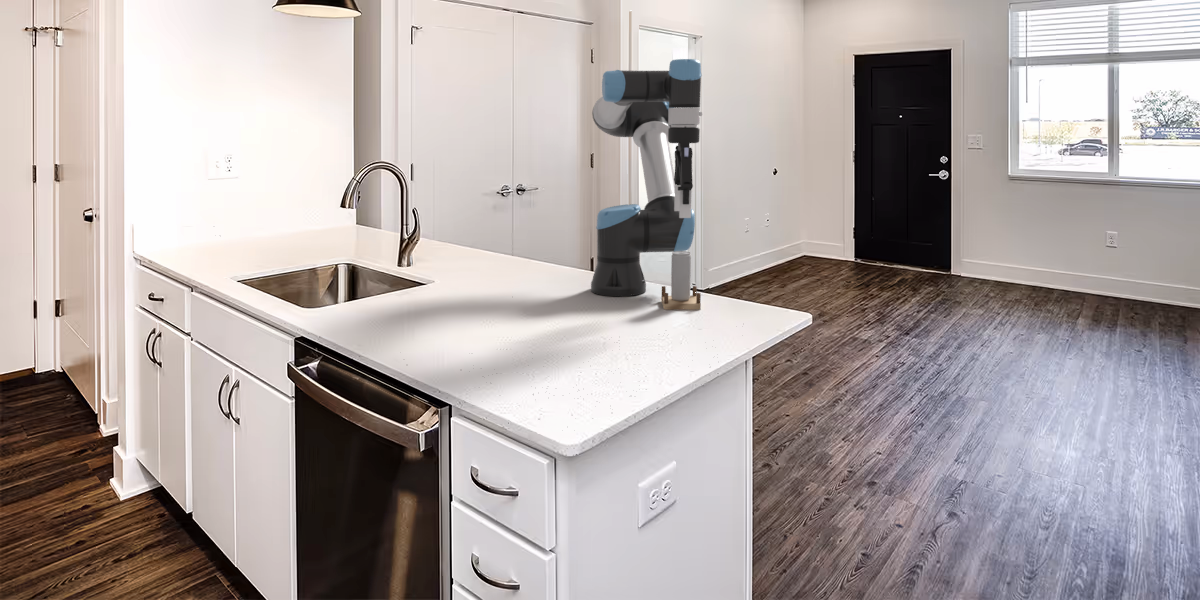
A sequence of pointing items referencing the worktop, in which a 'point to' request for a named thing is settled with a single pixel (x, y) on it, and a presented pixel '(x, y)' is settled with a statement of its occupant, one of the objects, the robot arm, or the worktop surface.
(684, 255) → the beverage can
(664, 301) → the stand
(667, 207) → the robot arm
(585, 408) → the worktop surface
